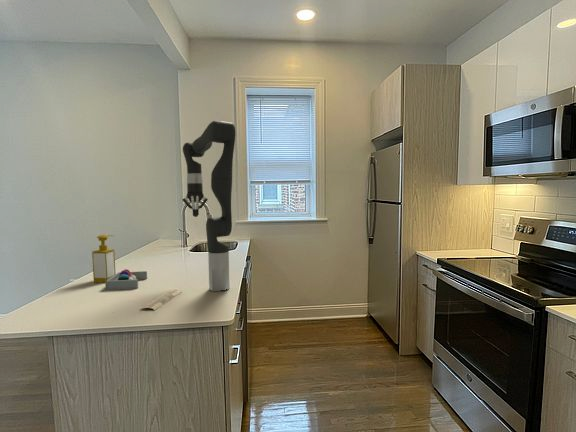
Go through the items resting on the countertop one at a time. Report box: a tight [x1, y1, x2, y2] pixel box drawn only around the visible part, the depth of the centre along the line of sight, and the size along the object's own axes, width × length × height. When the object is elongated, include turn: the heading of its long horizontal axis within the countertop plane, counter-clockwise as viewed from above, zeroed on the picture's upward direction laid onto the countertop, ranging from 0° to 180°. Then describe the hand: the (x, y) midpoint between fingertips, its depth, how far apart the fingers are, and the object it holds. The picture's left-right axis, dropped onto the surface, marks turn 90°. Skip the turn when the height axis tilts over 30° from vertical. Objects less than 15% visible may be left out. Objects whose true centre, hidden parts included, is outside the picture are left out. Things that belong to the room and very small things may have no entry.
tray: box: [104, 270, 148, 291], centre depth 170 cm, size 18×14×4 cm
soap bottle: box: [91, 234, 117, 284], centre depth 179 cm, size 7×13×24 cm, turn 174°
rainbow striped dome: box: [115, 268, 136, 280], centre depth 170 cm, size 8×10×7 cm
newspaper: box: [139, 289, 183, 311], centre depth 144 cm, size 24×7×2 cm, turn 172°
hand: (195, 216), depth 178 cm, fingers closed
